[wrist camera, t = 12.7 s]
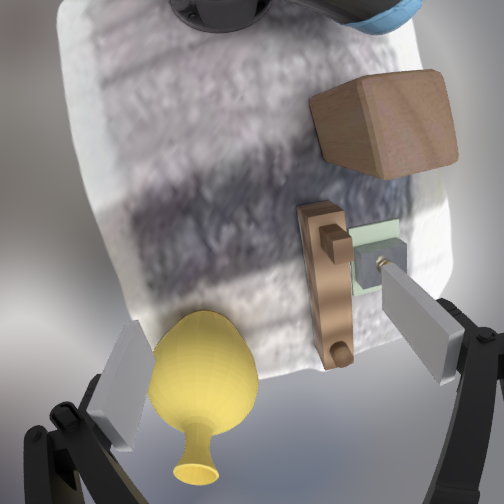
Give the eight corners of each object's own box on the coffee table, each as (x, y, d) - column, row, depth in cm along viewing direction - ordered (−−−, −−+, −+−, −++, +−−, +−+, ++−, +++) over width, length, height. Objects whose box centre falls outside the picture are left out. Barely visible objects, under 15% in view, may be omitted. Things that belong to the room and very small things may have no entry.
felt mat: (347, 228, 50) (348, 229, 49) (397, 218, 50) (398, 219, 49) (352, 294, 54) (353, 296, 53) (398, 282, 54) (399, 284, 53)
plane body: (296, 206, 48) (319, 231, 36) (329, 199, 48) (362, 222, 36) (315, 346, 57) (333, 395, 45) (342, 339, 57) (365, 386, 45)
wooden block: (367, 87, 42) (444, 67, 23) (382, 149, 46) (463, 164, 27) (305, 98, 42) (358, 75, 24) (323, 163, 46) (383, 184, 27)
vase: (264, 357, 57) (286, 491, 31) (183, 378, 58) (167, 507, 31) (234, 282, 51) (242, 420, 25) (144, 310, 52) (93, 442, 26)
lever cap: (353, 246, 50) (364, 257, 46) (396, 237, 50) (410, 246, 46) (355, 280, 52) (365, 293, 48) (397, 269, 52) (410, 281, 48)
